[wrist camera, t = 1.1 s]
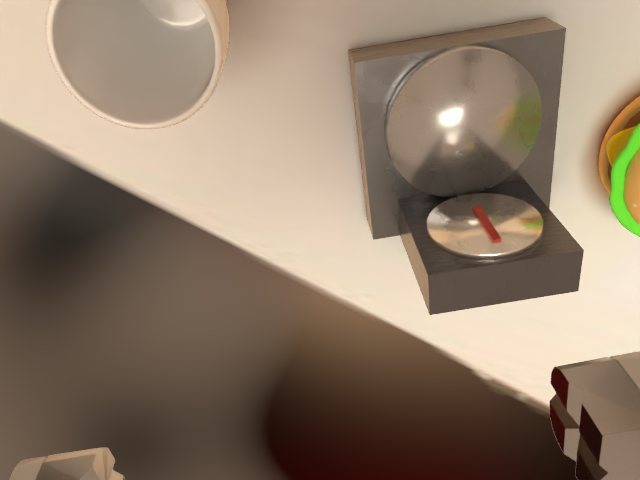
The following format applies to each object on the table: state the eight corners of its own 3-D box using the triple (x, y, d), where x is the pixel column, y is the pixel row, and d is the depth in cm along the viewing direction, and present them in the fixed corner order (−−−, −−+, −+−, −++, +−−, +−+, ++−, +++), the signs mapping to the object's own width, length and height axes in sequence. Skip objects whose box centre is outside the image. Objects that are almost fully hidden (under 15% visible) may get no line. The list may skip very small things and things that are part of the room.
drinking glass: (155, -108, 32) (85, -93, 19) (260, -33, 34) (257, 24, 22) (105, 0, 35) (14, 74, 22) (204, 62, 37) (174, 161, 25)
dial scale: (348, 50, 37) (379, 116, 27) (545, 17, 37) (649, 72, 27) (367, 218, 45) (396, 320, 35) (532, 191, 44) (611, 285, 34)
